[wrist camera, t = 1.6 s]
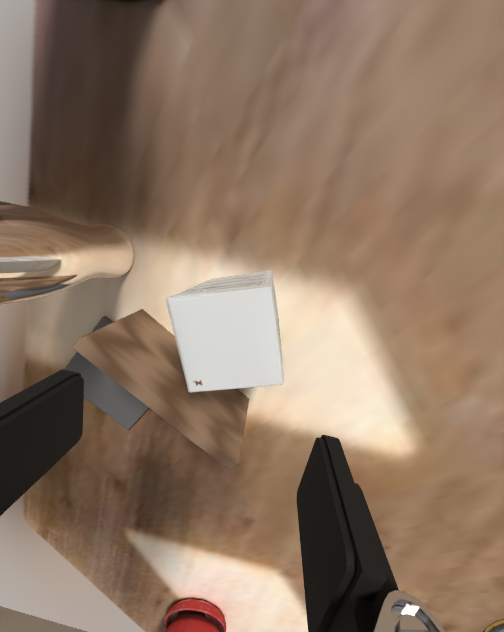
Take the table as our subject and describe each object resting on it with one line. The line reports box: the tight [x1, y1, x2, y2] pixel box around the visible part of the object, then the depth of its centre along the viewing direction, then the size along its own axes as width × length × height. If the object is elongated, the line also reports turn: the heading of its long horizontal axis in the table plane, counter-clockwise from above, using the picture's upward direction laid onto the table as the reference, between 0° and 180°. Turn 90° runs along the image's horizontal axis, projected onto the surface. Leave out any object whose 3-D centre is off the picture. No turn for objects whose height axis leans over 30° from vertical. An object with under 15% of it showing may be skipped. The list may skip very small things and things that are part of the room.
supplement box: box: [167, 270, 284, 393], centre depth 22 cm, size 7×7×13 cm
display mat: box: [65, 317, 149, 430], centre depth 32 cm, size 12×12×1 cm
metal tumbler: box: [0, 202, 134, 304], centre depth 21 cm, size 7×7×15 cm
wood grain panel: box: [73, 309, 249, 471], centre depth 26 cm, size 18×1×10 cm, turn 48°
